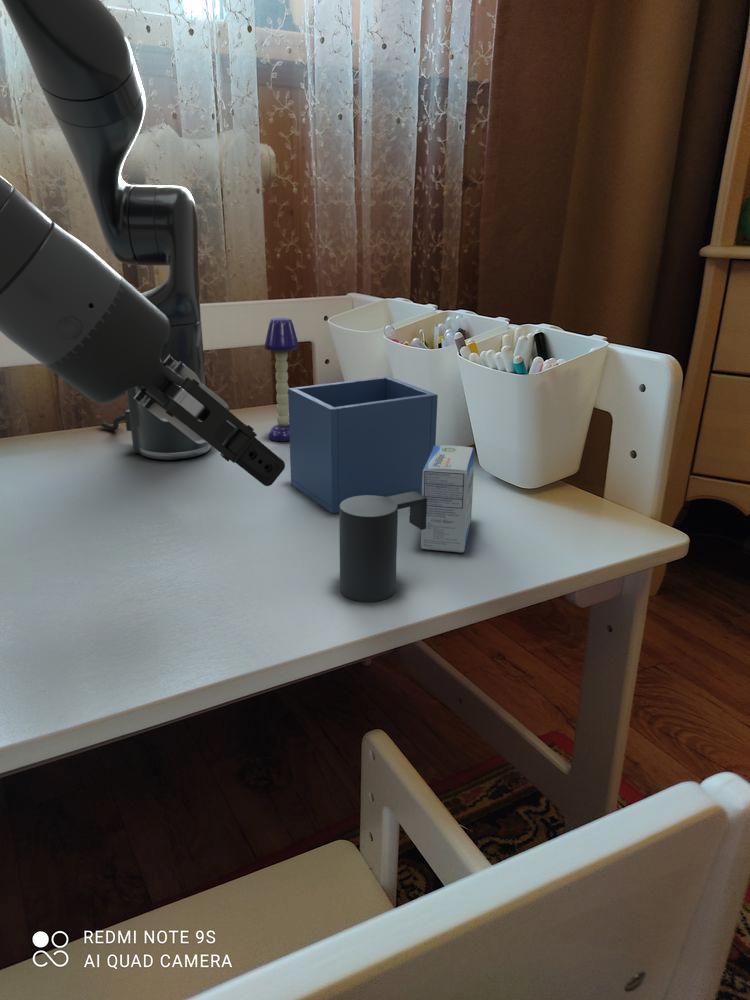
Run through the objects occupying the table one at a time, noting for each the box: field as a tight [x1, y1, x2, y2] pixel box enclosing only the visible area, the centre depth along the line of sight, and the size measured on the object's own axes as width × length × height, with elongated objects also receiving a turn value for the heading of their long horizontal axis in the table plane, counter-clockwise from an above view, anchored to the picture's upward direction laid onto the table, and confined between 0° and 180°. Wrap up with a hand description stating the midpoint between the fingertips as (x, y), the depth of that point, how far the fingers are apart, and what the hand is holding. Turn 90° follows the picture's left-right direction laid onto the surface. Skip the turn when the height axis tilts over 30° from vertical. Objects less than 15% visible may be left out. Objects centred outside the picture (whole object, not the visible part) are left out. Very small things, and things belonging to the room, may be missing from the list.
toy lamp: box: [264, 317, 299, 442], centre depth 108 cm, size 5×5×17 cm
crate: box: [287, 375, 439, 515], centre depth 90 cm, size 14×11×12 cm
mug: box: [338, 491, 427, 603], centre depth 68 cm, size 8×5×8 cm, turn 121°
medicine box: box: [420, 444, 476, 554], centre depth 78 cm, size 8×4×9 cm, turn 168°
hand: (253, 458), depth 59 cm, fingers open, 8 cm apart
